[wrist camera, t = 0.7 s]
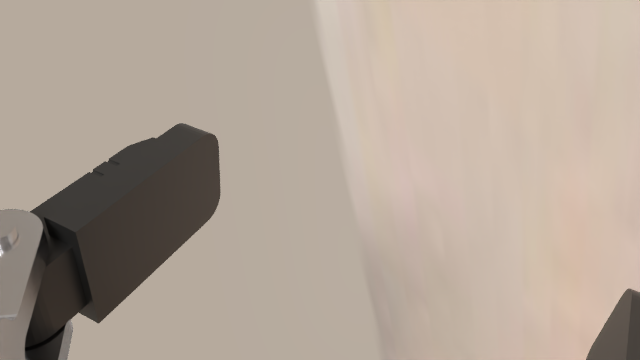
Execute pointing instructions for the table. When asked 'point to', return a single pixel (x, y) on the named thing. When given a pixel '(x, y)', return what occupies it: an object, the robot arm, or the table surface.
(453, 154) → the table surface
